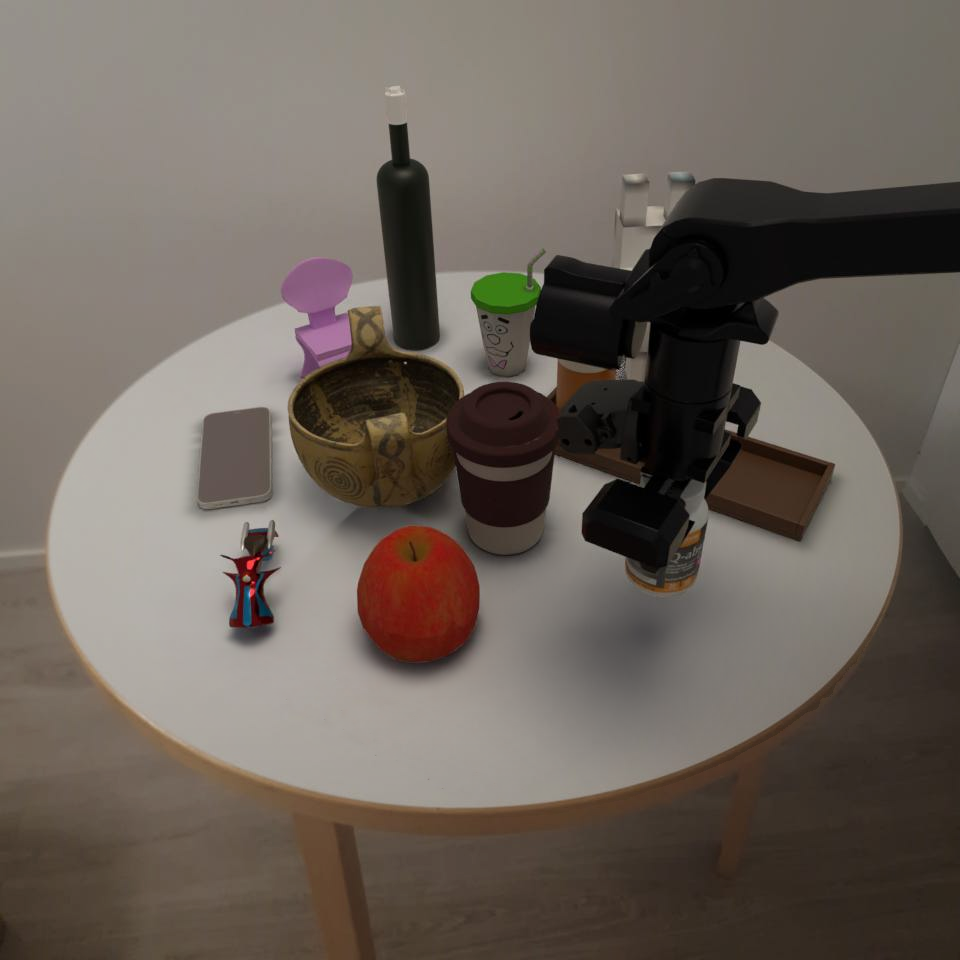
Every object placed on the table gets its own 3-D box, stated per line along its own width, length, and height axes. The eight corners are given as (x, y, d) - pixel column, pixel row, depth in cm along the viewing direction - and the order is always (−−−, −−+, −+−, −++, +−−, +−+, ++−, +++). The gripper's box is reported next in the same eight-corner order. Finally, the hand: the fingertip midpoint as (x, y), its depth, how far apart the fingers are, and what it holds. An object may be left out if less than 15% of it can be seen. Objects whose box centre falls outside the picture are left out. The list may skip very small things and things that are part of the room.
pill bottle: (675, 611, 69) (691, 516, 63) (610, 579, 72) (619, 485, 65) (709, 567, 73) (727, 472, 66) (646, 538, 75) (657, 444, 69)
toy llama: (632, 402, 102) (648, 236, 89) (607, 321, 115) (618, 165, 102) (699, 399, 102) (725, 232, 89) (666, 317, 115) (685, 162, 102)
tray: (831, 479, 91) (835, 463, 90) (800, 541, 85) (804, 525, 83) (563, 392, 104) (564, 378, 102) (518, 441, 97) (518, 426, 96)
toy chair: (321, 416, 101) (299, 297, 92) (291, 379, 107) (268, 263, 97) (387, 393, 105) (373, 275, 95) (355, 357, 110) (339, 243, 100)
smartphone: (195, 505, 90) (202, 414, 101) (197, 511, 90) (204, 420, 101) (271, 494, 90) (270, 405, 102) (273, 501, 91) (271, 412, 102)
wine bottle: (447, 330, 114) (431, 81, 95) (428, 354, 110) (407, 99, 91) (406, 322, 116) (382, 76, 96) (385, 345, 112) (356, 94, 93)
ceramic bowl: (490, 544, 85) (486, 416, 76) (309, 573, 83) (280, 446, 74) (451, 407, 102) (443, 287, 92) (298, 428, 100) (274, 308, 90)
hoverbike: (222, 648, 77) (207, 603, 73) (239, 547, 86) (226, 504, 83) (283, 642, 77) (271, 598, 74) (293, 543, 86) (283, 499, 83)
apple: (451, 569, 83) (444, 483, 76) (503, 648, 76) (501, 561, 69) (345, 609, 80) (329, 523, 73) (390, 696, 73) (376, 609, 66)
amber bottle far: (622, 420, 99) (629, 339, 92) (596, 451, 95) (602, 369, 88) (571, 403, 101) (574, 323, 94) (544, 433, 97) (545, 352, 91)
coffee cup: (443, 506, 90) (434, 380, 80) (540, 487, 91) (542, 362, 82) (467, 577, 82) (460, 448, 73) (571, 555, 84) (578, 427, 74)
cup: (461, 374, 107) (455, 258, 97) (493, 342, 112) (491, 228, 102) (520, 392, 104) (520, 273, 94) (551, 358, 109) (553, 242, 99)
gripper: (634, 288, 69) (620, 447, 80) (512, 417, 58) (514, 585, 68) (779, 325, 65) (744, 489, 75) (677, 474, 53) (653, 644, 63)
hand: (664, 546), depth 70 cm, fingers closed on pill bottle, 5 cm apart
